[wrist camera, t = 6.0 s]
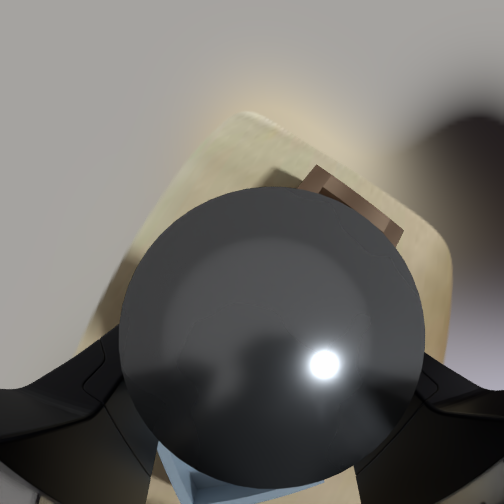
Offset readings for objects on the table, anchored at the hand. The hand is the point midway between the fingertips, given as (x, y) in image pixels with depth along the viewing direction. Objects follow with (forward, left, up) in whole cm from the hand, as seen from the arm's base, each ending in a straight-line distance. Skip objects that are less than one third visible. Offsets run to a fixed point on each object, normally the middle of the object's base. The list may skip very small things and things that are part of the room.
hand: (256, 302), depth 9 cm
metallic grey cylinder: (-1, 0, -6) cm, 6 cm away
